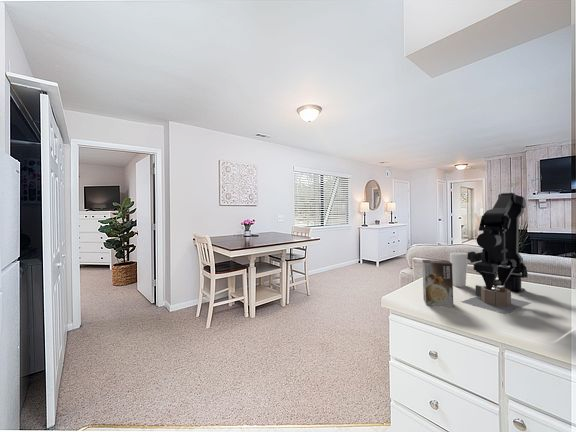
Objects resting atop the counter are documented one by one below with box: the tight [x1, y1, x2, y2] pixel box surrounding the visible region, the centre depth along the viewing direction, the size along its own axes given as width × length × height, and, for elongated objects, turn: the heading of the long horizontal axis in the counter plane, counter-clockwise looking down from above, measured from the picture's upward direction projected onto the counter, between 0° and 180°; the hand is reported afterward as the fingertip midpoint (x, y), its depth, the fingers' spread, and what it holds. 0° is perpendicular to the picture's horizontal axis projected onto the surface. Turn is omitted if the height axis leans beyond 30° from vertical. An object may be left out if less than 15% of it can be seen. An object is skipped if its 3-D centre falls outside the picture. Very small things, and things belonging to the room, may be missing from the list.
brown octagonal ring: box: [475, 284, 512, 307], centre depth 98 cm, size 8×11×5 cm
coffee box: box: [422, 259, 454, 308], centre depth 98 cm, size 9×6×16 cm
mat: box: [460, 295, 531, 315], centre depth 97 cm, size 20×14×1 cm
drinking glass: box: [449, 251, 468, 288], centre depth 119 cm, size 7×7×15 cm
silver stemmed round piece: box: [492, 278, 502, 292], centre depth 97 cm, size 5×5×8 cm
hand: (495, 287), depth 97 cm, fingers open, 9 cm apart
